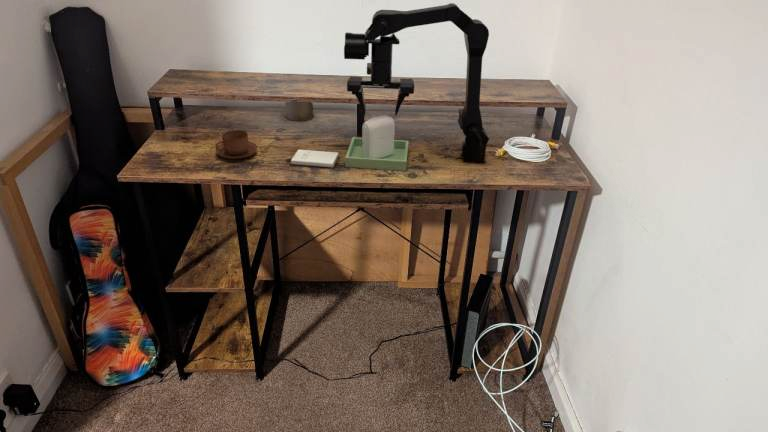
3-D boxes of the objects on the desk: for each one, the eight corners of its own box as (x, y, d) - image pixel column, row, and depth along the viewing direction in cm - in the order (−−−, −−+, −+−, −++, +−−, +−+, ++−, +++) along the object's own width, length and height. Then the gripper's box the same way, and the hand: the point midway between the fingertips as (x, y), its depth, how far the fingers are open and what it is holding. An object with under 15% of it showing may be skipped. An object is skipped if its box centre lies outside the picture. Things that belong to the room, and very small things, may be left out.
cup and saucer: (237, 166, 147) (234, 146, 144) (207, 156, 152) (204, 136, 149) (266, 152, 156) (264, 133, 153) (237, 143, 161) (234, 124, 158)
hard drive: (333, 168, 148) (291, 164, 149) (339, 157, 155) (298, 153, 156) (333, 163, 147) (290, 159, 148) (339, 152, 154) (298, 148, 155)
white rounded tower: (367, 162, 151) (368, 122, 144) (359, 157, 154) (360, 118, 147) (395, 155, 156) (397, 116, 150) (387, 150, 159) (389, 112, 153)
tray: (408, 149, 161) (408, 140, 160) (405, 170, 148) (406, 161, 146) (352, 145, 162) (352, 137, 161) (345, 166, 149) (345, 157, 147)
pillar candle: (318, 114, 186) (316, 73, 178) (304, 123, 178) (302, 80, 170) (294, 110, 189) (292, 69, 181) (280, 118, 181) (277, 76, 173)
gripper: (414, 54, 148) (411, 106, 156) (350, 51, 148) (350, 104, 156) (415, 64, 139) (412, 119, 147) (346, 61, 139) (347, 116, 147)
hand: (380, 114), depth 149 cm, fingers open, 9 cm apart
